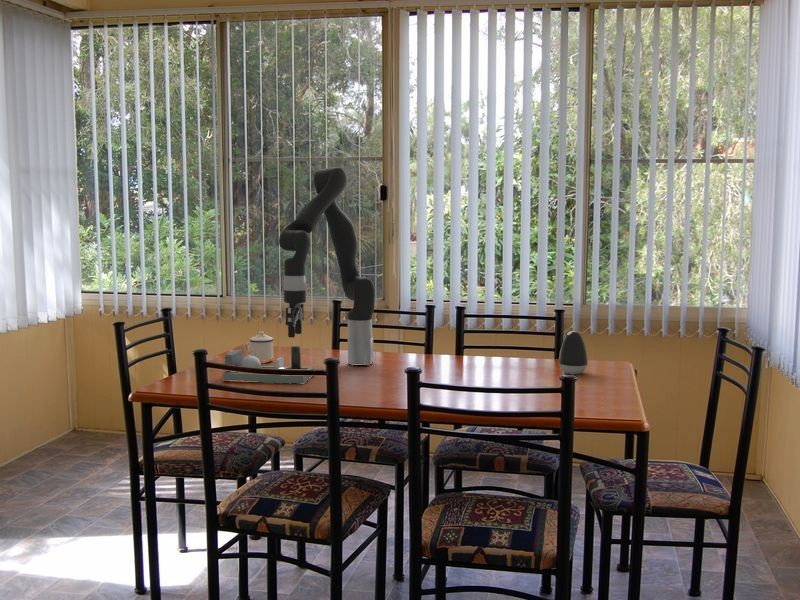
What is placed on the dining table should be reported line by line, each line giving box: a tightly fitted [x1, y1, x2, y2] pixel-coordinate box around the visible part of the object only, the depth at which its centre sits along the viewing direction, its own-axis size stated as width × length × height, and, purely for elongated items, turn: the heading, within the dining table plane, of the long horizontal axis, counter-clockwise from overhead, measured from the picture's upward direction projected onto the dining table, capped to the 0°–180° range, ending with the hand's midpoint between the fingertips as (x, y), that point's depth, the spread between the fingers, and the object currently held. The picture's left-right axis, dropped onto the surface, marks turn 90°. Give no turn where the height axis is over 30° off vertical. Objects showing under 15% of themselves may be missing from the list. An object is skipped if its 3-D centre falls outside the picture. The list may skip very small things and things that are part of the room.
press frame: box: [222, 349, 315, 385], centre depth 288 cm, size 28×15×9 cm, turn 82°
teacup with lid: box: [243, 331, 274, 360], centre depth 321 cm, size 12×9×12 cm
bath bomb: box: [239, 355, 263, 368], centre depth 289 cm, size 8×8×8 cm
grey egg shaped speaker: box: [558, 330, 589, 375], centre depth 298 cm, size 10×10×15 cm
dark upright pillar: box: [274, 345, 302, 369], centre depth 287 cm, size 8×6×11 cm
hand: (295, 335), depth 286 cm, fingers open, 8 cm apart
